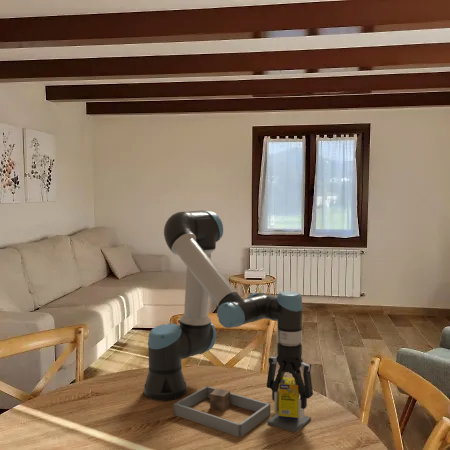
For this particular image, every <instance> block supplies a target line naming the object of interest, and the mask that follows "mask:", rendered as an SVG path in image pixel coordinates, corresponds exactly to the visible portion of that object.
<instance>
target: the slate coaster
mask: <svg viewBox="0 0 450 450" xmlns="http://www.w3.org/2000/svg"><path fill="white" fill-rule="evenodd" d="M311 420H312V417H311V416H308V415H304V417H303V418H302V419H301V420H299V419H298V420H293V419H283V418H279V412H277V413H275V414H274V415H273V416H272V417H271V418H270V419H268V420H266V421H267V422H266V423H267V425H271V426H273V427H277V428H279V429H284V430H286V431H289V432H294V433H298V432H299V431H300V430H301V429H303V427H305V426H306V425H307V424H308V423H309V422H310V421H311Z"/></svg>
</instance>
